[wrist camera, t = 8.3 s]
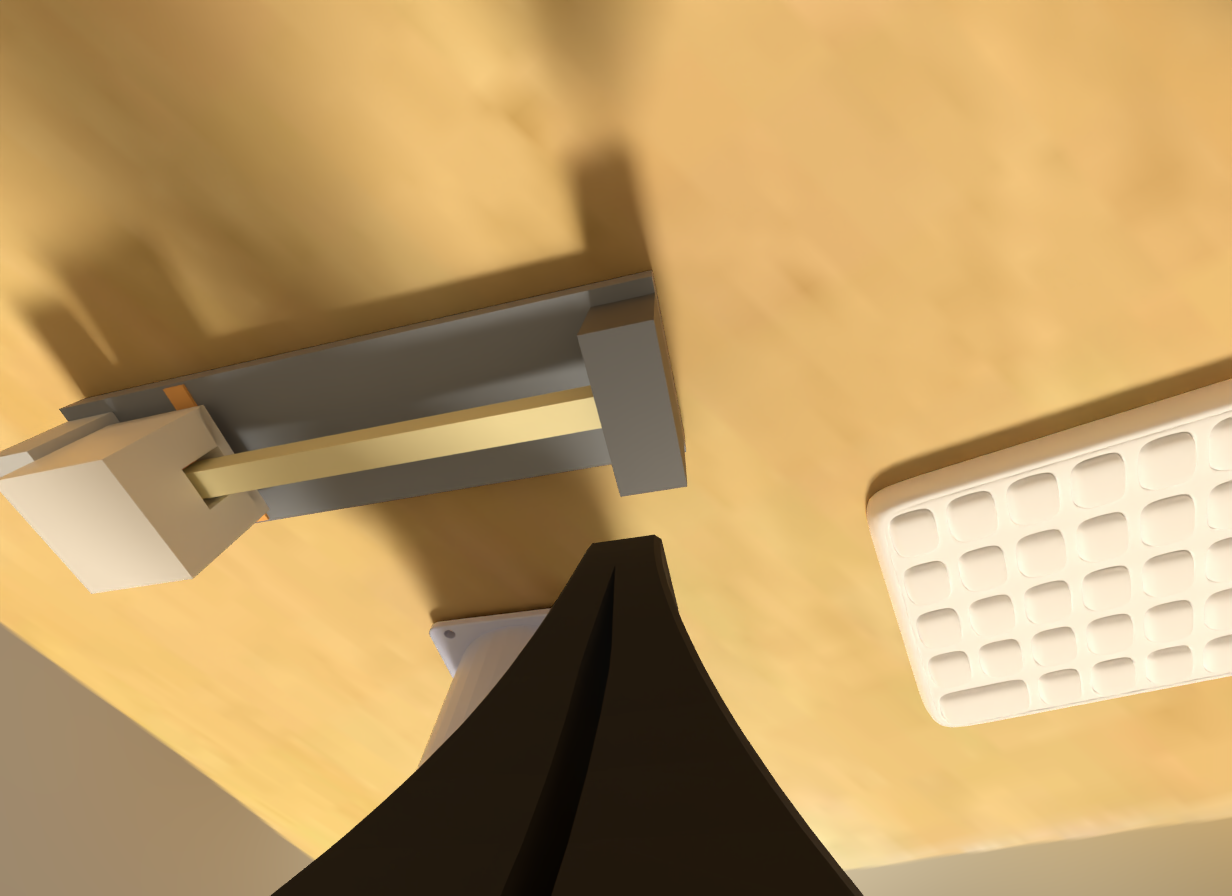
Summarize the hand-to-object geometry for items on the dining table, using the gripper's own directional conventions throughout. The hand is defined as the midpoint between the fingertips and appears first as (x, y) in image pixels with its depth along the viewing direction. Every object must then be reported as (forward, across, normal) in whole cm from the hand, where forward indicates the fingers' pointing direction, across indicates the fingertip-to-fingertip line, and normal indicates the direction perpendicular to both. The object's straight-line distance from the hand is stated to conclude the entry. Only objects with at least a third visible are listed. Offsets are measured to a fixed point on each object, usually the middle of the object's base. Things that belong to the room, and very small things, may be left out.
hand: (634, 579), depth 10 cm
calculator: (+10, -18, +10) cm, 23 cm away
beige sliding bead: (+8, +17, -1) cm, 18 cm away
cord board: (+9, +10, -1) cm, 14 cm away
